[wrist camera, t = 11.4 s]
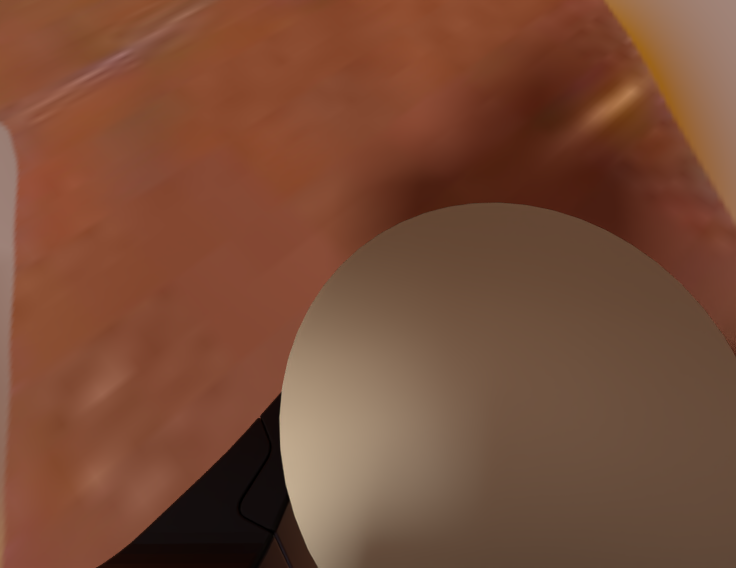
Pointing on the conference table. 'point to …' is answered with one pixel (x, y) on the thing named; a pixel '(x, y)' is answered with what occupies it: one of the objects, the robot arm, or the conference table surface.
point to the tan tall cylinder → (509, 403)
